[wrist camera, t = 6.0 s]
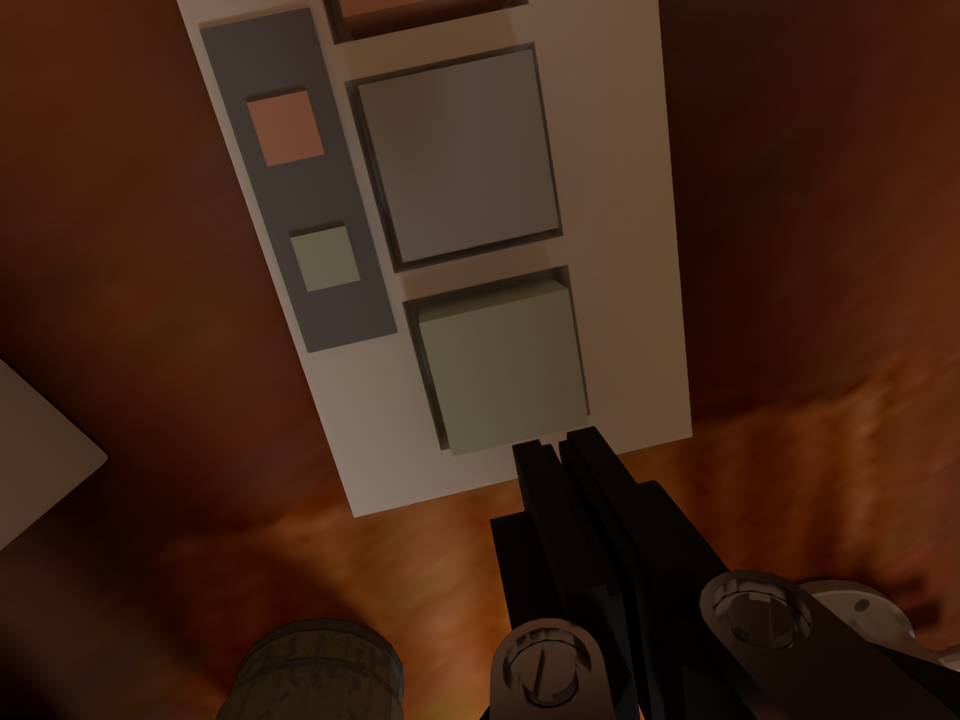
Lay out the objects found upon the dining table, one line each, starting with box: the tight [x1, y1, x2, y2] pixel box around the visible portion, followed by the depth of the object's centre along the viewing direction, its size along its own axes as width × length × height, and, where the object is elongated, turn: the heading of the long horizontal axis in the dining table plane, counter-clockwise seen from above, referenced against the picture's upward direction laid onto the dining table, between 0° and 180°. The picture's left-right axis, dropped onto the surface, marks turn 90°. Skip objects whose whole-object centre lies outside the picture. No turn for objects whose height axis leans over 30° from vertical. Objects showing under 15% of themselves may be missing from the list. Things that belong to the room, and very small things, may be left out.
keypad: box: [177, 0, 693, 518], centre depth 18 cm, size 14×24×4 cm, turn 12°
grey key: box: [358, 49, 559, 262], centre depth 16 cm, size 5×5×2 cm
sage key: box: [419, 277, 589, 457], centre depth 19 cm, size 5×5×2 cm
